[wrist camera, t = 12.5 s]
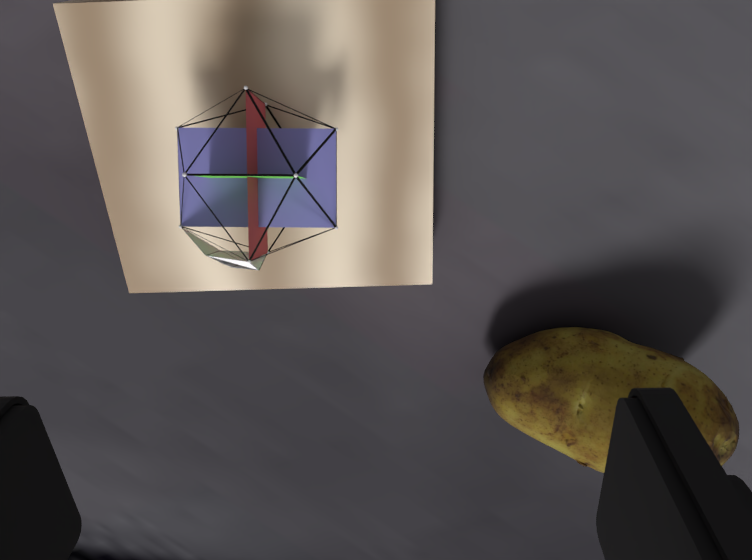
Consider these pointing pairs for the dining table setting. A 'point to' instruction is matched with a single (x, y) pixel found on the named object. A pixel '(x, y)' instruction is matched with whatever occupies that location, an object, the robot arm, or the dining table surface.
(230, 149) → the geometric puzzle
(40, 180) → the dining table surface
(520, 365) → the potato
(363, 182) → the birch platform
